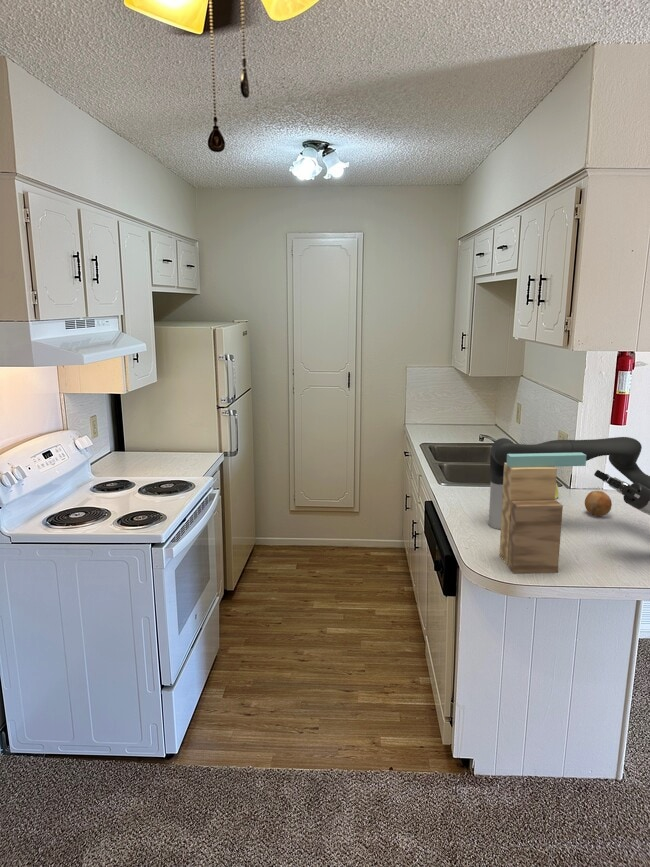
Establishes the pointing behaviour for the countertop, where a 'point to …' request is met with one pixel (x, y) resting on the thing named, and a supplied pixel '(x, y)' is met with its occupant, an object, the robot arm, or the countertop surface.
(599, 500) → the onion
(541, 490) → the stand
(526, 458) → the rail
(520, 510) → the step
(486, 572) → the countertop surface
